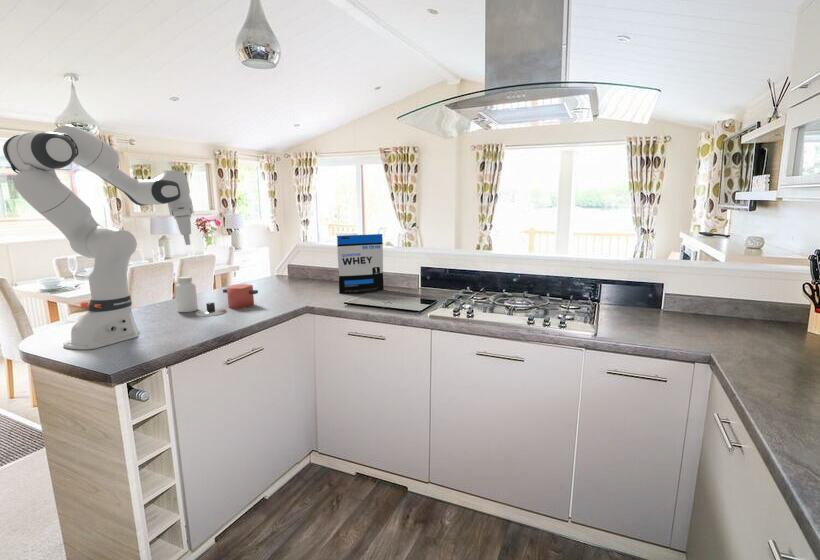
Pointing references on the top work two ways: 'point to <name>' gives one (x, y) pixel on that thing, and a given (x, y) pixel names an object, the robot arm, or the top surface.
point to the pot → (240, 296)
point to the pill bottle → (186, 295)
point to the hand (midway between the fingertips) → (187, 243)
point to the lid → (211, 310)
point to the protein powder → (360, 263)
